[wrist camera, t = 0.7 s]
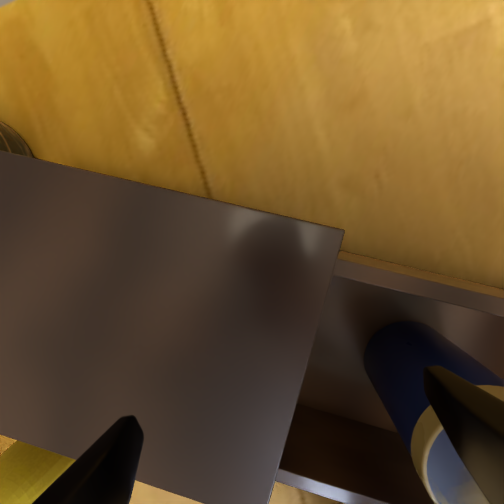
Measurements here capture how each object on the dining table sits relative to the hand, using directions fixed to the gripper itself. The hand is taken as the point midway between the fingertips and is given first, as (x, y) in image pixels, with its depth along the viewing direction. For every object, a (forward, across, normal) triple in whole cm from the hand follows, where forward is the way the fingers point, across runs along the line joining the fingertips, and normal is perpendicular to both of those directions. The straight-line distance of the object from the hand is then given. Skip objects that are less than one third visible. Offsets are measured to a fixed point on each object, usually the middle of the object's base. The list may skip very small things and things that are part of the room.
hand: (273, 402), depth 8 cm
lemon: (+11, +20, +11) cm, 25 cm away
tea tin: (+8, -8, +8) cm, 14 cm away
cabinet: (+13, +8, +1) cm, 15 cm away
